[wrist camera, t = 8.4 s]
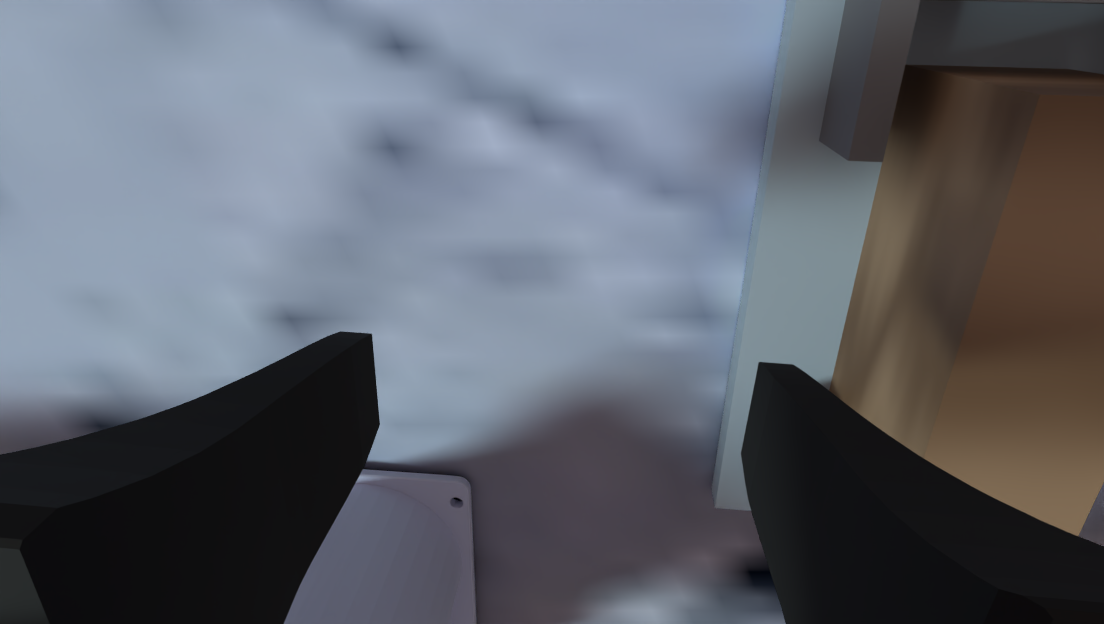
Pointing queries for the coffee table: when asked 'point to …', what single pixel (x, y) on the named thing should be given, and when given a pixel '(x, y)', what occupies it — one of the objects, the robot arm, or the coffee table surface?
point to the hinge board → (854, 164)
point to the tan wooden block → (988, 285)
